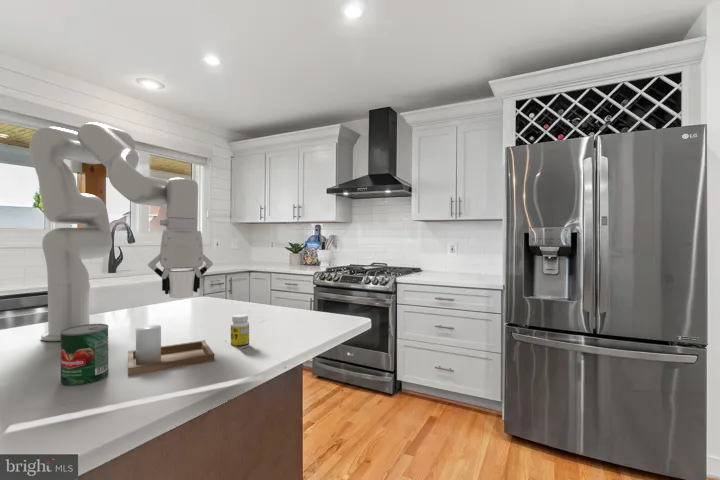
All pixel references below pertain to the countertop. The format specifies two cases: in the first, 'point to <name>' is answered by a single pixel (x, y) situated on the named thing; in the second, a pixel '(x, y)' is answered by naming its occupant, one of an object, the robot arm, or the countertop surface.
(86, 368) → the canned tomato
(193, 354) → the walnut tray
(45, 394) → the countertop surface
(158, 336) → the white pillar candle
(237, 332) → the supplement bottle
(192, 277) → the white tapered cup
